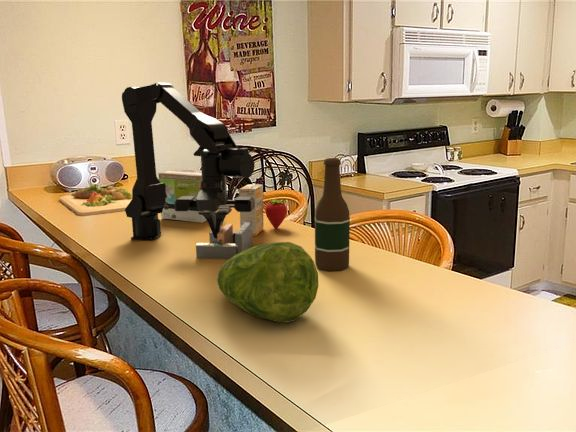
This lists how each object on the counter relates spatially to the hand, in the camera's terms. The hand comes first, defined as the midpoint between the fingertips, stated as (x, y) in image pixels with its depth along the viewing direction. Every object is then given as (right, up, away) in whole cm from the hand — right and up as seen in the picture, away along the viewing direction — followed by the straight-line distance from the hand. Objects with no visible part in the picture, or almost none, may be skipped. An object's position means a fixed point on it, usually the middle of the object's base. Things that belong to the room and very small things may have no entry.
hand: (216, 238), depth 135 cm
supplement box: (+8, +1, +18) cm, 19 cm away
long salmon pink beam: (+2, -3, -1) cm, 4 cm away
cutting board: (-49, +9, +62) cm, 79 cm away
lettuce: (+12, -11, -36) cm, 40 cm away
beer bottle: (+27, -6, -13) cm, 31 cm away
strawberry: (+14, +2, +22) cm, 26 cm away
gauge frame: (+2, -3, +1) cm, 4 cm away
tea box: (-13, +5, +37) cm, 39 cm away
